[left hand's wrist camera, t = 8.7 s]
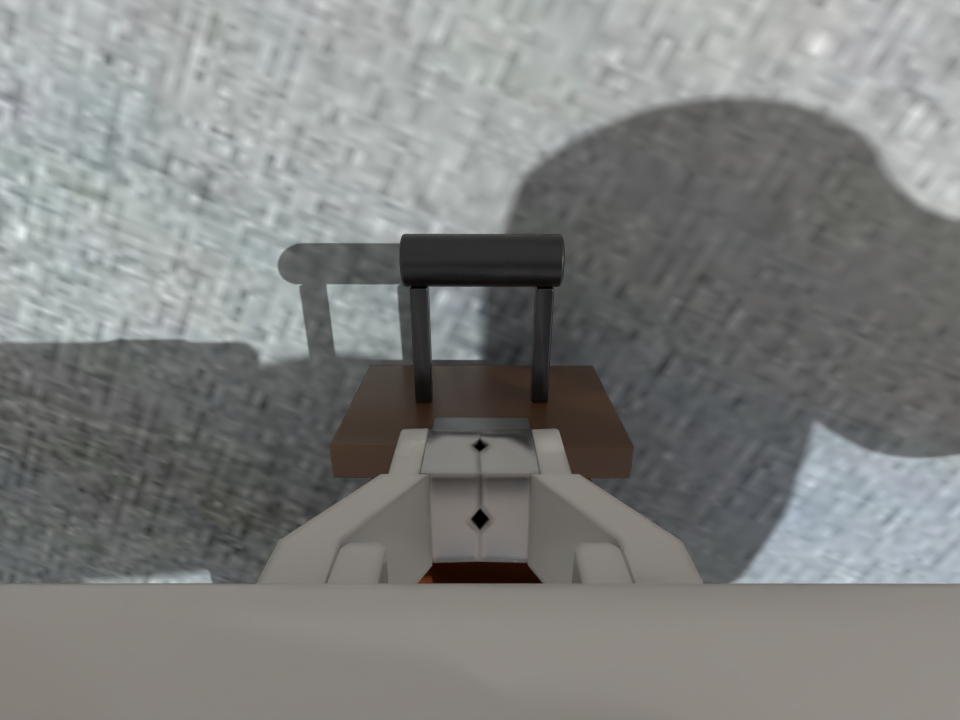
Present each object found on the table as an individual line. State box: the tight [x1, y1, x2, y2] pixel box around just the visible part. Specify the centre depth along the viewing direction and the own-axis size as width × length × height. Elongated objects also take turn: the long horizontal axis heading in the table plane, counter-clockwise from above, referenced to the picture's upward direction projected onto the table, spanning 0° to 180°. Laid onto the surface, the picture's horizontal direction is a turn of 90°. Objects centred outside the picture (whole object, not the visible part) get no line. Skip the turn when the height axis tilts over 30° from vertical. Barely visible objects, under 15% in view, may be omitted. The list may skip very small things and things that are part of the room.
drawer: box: [330, 234, 634, 584], centre depth 21 cm, size 24×10×6 cm, turn 0°
